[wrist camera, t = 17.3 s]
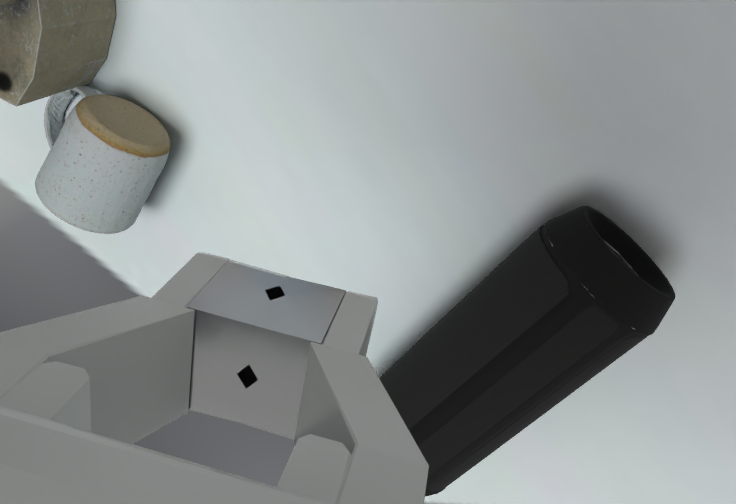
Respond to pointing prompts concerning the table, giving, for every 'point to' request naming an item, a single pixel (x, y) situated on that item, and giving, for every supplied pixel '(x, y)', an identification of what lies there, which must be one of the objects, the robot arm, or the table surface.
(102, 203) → the ceramic mug
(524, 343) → the portable speaker
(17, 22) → the padlock
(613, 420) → the table surface
